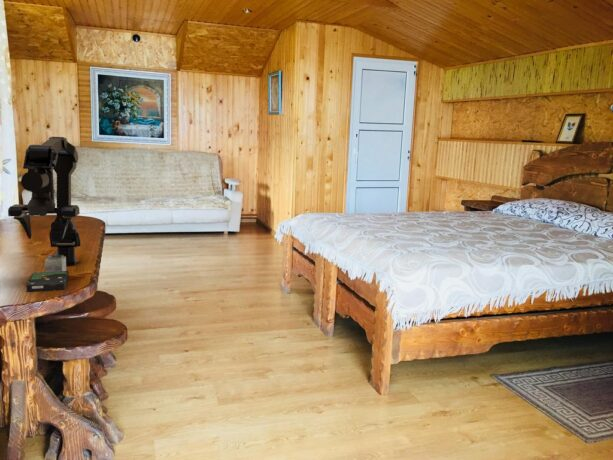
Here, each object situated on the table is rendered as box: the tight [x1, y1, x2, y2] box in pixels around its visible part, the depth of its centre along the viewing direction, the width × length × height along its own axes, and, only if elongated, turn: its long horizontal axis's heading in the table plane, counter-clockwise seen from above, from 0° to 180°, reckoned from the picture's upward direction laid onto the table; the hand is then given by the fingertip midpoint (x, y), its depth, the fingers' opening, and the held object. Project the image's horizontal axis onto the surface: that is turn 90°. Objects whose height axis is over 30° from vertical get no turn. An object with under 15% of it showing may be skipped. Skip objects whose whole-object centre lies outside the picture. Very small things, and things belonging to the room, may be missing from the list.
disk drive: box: [25, 270, 70, 293], centre depth 162 cm, size 10×3×15 cm
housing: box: [44, 252, 67, 272], centre depth 175 cm, size 5×5×6 cm
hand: (46, 238), depth 164 cm, fingers open, 9 cm apart
